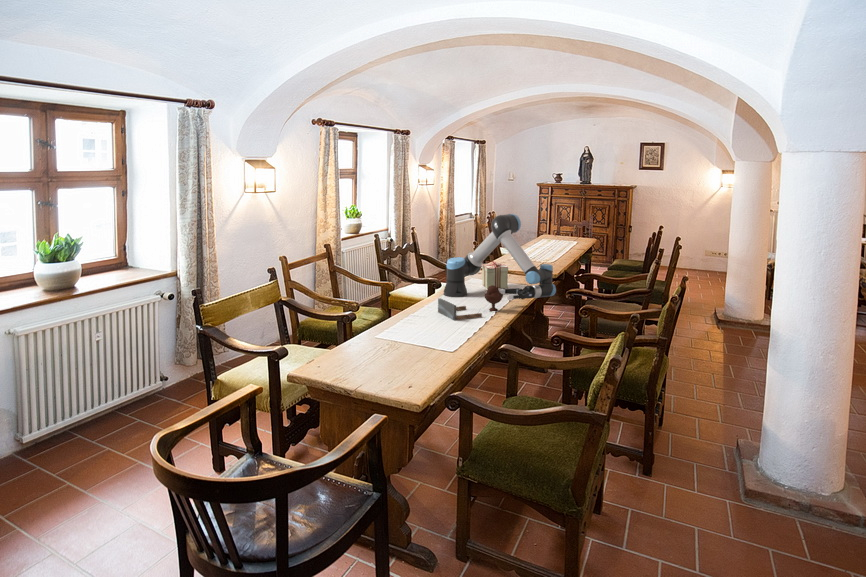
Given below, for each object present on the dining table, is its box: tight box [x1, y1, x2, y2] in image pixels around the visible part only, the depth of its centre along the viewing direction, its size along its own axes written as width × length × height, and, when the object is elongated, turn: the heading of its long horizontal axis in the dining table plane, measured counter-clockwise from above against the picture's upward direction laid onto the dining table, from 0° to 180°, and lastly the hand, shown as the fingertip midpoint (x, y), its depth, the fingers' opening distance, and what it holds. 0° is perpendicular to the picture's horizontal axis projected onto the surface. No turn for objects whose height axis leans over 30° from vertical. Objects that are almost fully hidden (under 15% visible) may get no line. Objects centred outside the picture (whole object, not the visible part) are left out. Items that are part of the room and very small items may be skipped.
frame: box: [437, 297, 483, 321], centre depth 333 cm, size 17×19×8 cm
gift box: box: [481, 260, 509, 290], centre depth 407 cm, size 17×18×17 cm
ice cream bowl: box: [483, 285, 504, 312], centre depth 342 cm, size 11×11×15 cm
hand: (501, 295), depth 344 cm, fingers open, 13 cm apart
